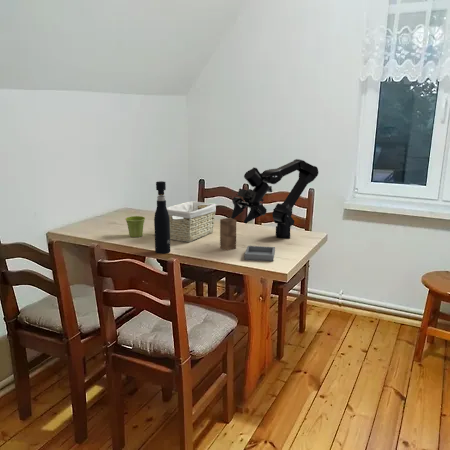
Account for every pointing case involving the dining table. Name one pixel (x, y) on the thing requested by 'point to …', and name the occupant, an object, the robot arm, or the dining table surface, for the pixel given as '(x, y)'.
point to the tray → (260, 253)
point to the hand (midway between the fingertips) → (238, 220)
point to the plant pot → (135, 225)
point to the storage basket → (191, 220)
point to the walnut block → (228, 234)
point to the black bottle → (161, 222)
